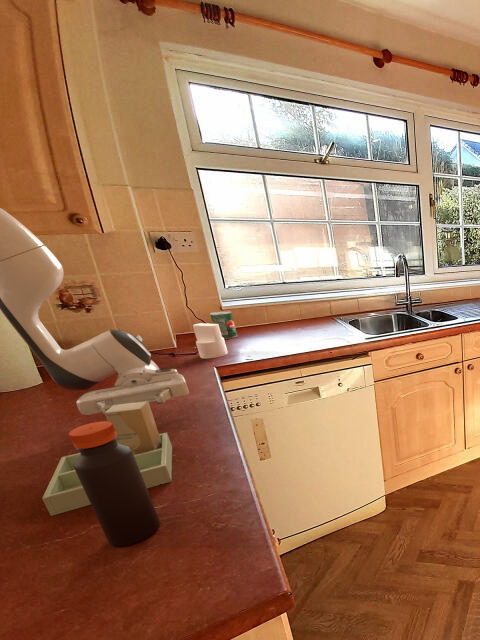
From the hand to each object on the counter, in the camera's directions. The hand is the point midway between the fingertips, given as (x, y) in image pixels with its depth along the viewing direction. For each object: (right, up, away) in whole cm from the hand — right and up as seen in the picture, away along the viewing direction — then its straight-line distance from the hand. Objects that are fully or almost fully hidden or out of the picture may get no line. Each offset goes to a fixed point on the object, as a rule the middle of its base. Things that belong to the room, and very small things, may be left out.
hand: (134, 405), depth 97 cm
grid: (+6, -14, -10) cm, 18 cm away
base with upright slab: (-29, +16, +68) cm, 75 cm away
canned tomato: (-41, +26, +92) cm, 104 cm away
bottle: (+23, -21, -25) cm, 40 cm away
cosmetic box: (+6, -11, -4) cm, 14 cm away
